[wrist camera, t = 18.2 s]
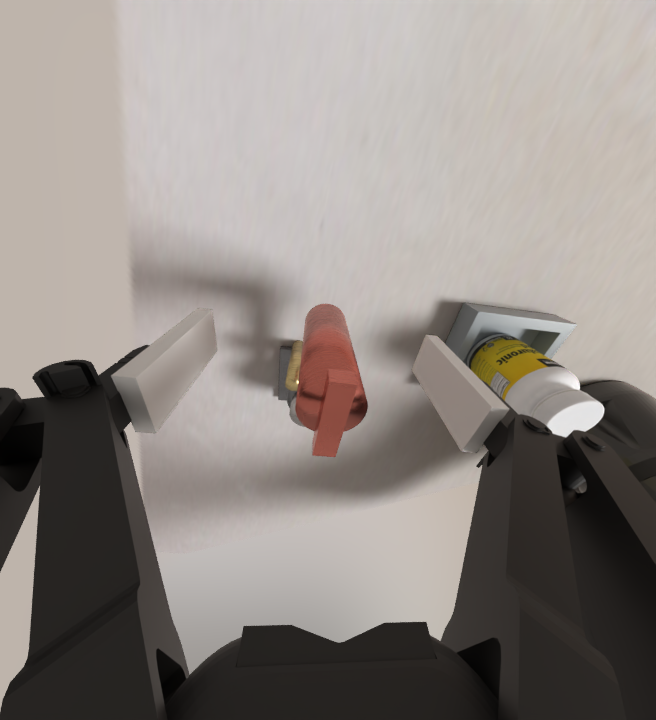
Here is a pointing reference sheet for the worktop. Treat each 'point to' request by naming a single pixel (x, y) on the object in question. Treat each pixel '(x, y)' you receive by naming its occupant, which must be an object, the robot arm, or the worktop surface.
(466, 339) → the tray
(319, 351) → the crank
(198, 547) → the worktop surface
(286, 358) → the crank pedestal
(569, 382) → the supplement bottle
